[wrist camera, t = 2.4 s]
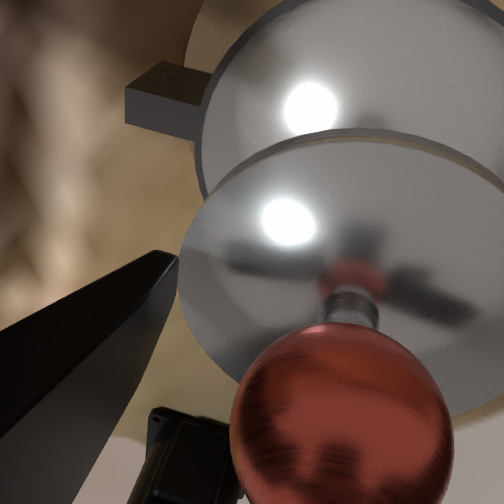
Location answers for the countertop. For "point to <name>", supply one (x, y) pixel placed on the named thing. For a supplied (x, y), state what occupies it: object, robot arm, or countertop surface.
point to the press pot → (329, 77)
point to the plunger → (349, 312)
